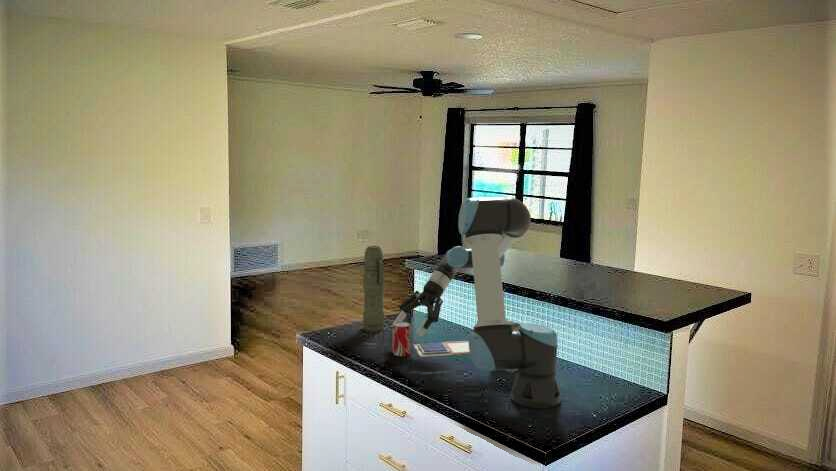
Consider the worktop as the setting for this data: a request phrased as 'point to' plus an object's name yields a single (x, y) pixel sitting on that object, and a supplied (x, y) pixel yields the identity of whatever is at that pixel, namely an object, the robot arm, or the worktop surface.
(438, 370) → the worktop surface
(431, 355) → the blotter board
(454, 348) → the orange bordered square plate
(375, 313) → the thermos
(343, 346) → the worktop surface
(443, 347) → the ink pad
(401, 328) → the soda can
